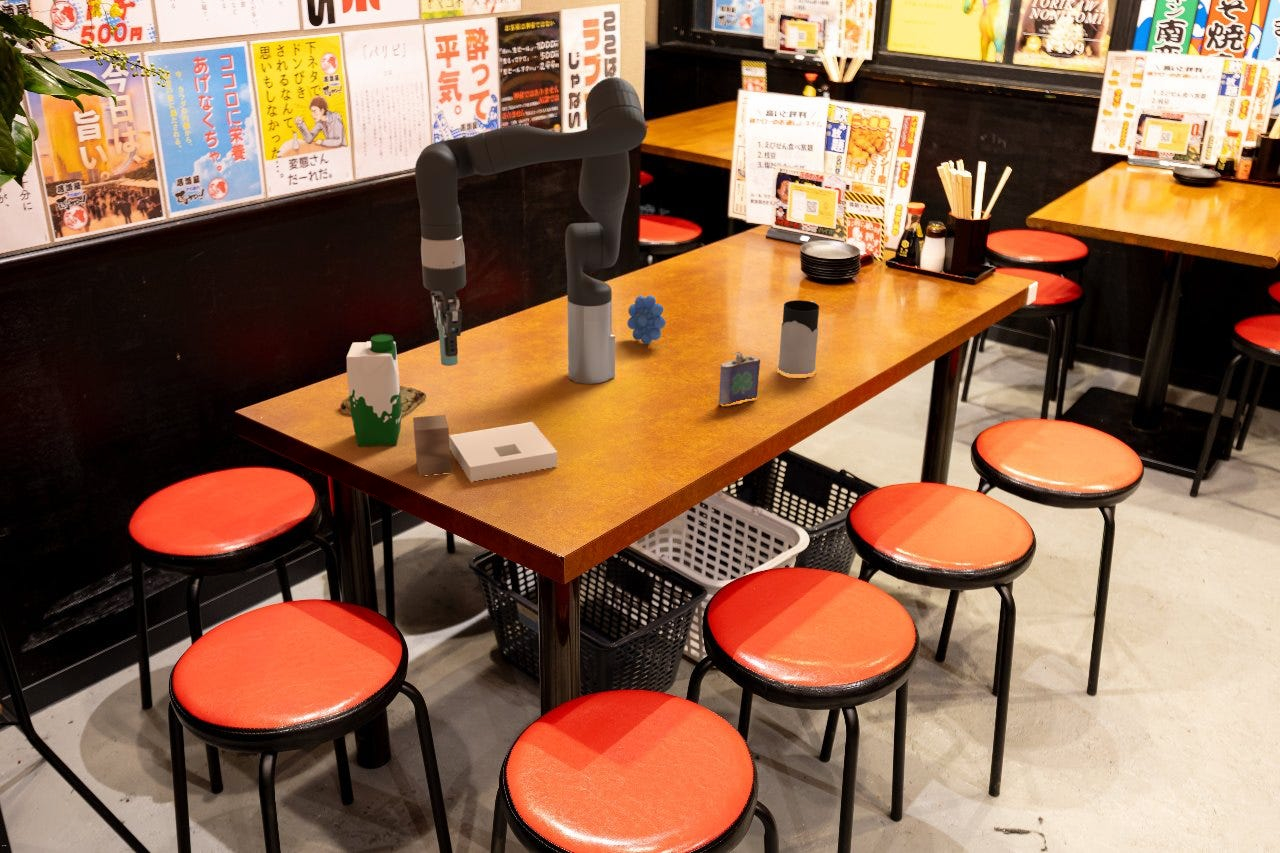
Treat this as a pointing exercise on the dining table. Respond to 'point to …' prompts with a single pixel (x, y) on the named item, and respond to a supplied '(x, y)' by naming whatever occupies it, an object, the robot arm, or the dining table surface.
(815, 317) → the glass holder
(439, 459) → the grey brown block
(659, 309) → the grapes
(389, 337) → the milk carton
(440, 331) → the peg
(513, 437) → the board
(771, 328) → the dining table surface
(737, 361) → the flask
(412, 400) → the pastry
